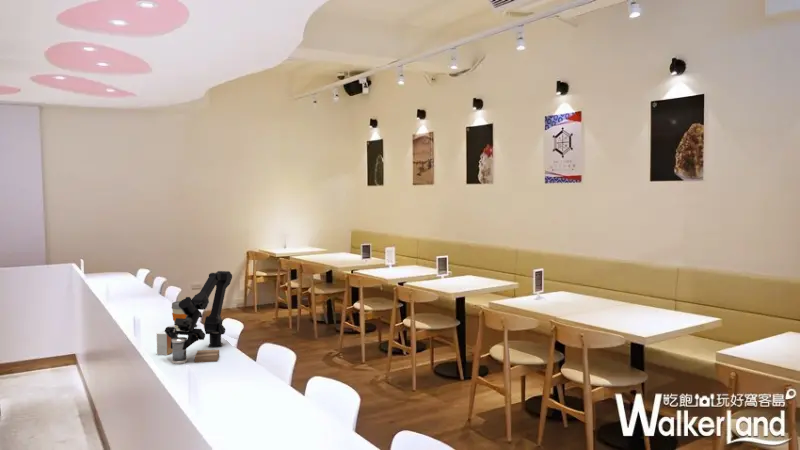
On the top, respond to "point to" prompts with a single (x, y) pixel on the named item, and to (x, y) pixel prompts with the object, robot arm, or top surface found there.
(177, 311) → the reusable coffee cup
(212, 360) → the stand
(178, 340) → the cylinder
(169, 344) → the small box
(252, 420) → the top surface
